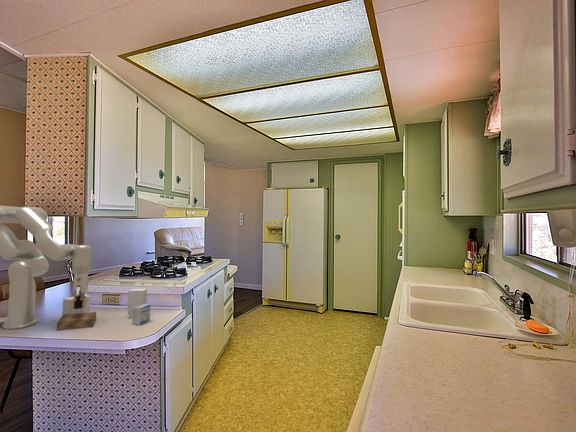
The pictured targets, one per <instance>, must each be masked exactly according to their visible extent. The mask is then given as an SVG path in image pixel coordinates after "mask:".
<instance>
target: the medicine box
mask: <svg viewBox="0 0 576 432" xmlns="http://www.w3.org/2000/svg"><path fill="white" fill-rule="evenodd" d="M131 320H132V321H131V324H132V325H133V326H141V325H144V324H146V323H148V322H150V320H151V304H149V303H147V304H142V305H139V306H137V307H134V308H133V316H132V319H131Z"/></svg>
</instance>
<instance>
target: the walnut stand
mask: <svg viewBox="0 0 576 432" xmlns="http://www.w3.org/2000/svg"><path fill="white" fill-rule="evenodd" d="M96 319H97V311H92V312H89V313H77V314H65V315H62V316H61V317H60V318H59V319H58V320H57V322H56V332H57V331H65V330H67V331H69V330H74V329H75V330H76V329H78V330H79V329H85V328H87V329H88V328H93V327H94V324H95V322H96Z"/></svg>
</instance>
